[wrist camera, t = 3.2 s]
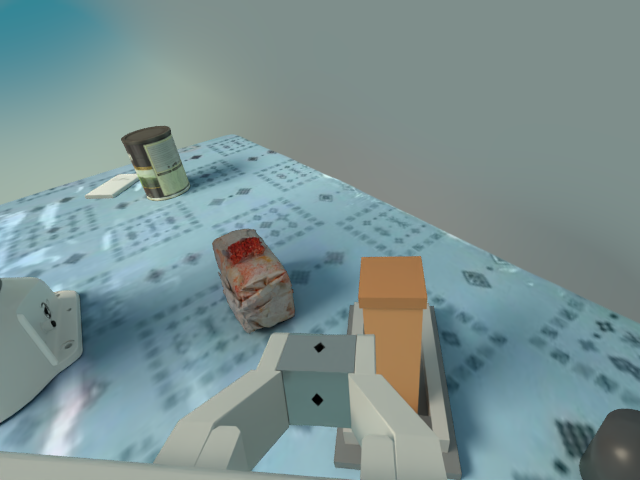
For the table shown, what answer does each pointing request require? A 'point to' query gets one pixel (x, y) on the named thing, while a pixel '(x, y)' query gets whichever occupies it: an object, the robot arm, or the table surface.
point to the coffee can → (157, 162)
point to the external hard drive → (113, 186)
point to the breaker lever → (395, 318)
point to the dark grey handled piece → (614, 448)
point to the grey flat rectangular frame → (430, 398)
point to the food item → (253, 280)
